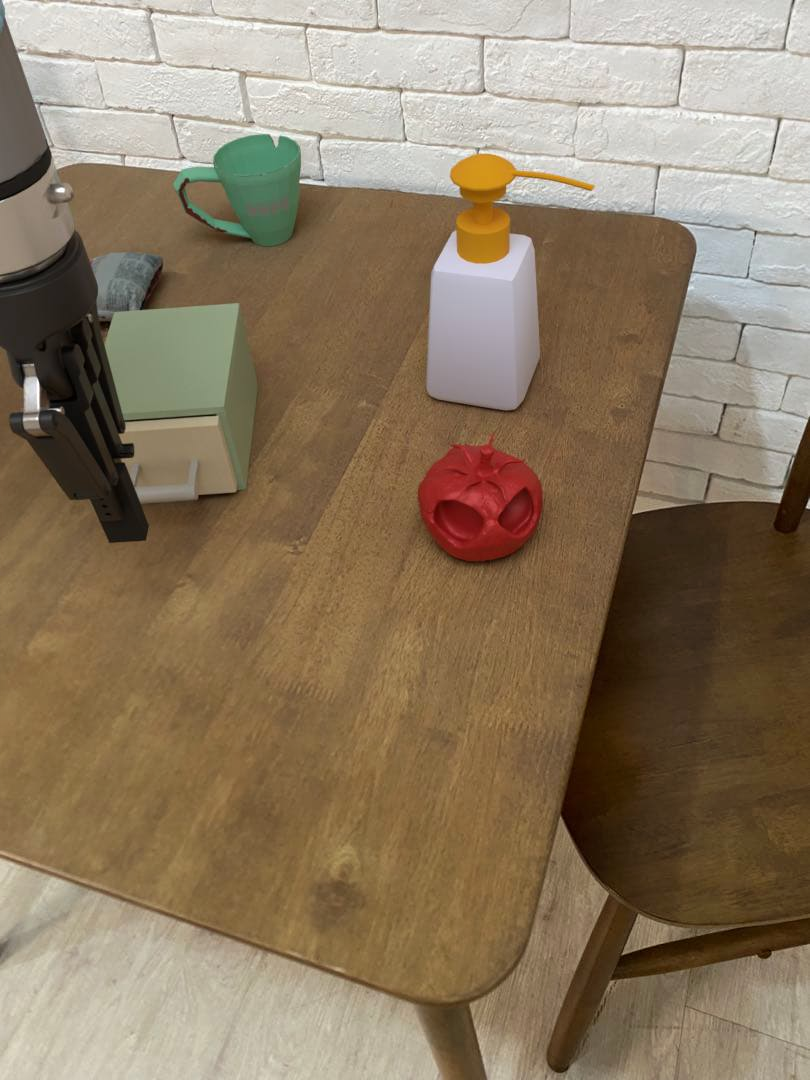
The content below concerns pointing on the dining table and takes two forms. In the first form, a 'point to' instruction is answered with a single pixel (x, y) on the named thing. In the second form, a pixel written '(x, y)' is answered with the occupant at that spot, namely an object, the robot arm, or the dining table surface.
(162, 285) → the dining table surface
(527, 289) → the soap bottle
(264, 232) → the mug
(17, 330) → the robot arm
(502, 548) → the red carved tomato
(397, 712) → the dining table surface
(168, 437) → the drawer
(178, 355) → the cabinet
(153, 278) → the packaged food
